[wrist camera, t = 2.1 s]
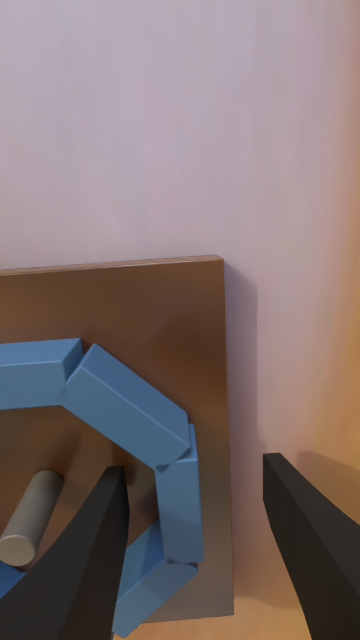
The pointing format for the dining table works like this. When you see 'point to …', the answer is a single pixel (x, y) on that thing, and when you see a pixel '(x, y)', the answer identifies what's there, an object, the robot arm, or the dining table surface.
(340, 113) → the dining table surface
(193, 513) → the ring
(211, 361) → the platform
